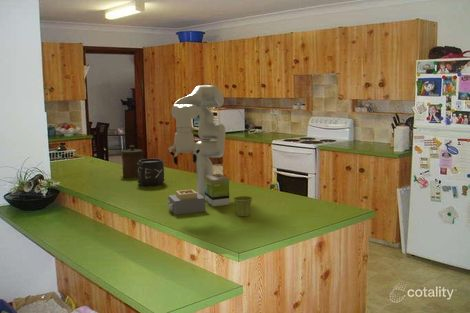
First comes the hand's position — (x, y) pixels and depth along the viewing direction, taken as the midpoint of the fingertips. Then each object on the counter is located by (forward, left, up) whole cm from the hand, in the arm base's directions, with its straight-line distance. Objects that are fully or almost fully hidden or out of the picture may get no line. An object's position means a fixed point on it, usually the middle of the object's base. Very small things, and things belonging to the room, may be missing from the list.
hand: (185, 163), depth 259 cm
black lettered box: (+5, -74, -25) cm, 78 cm away
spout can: (0, 0, -25) cm, 25 cm away
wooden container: (+11, -110, -25) cm, 113 cm away
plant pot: (-23, +22, -25) cm, 40 cm away
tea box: (-19, -8, -25) cm, 32 cm away
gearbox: (0, 0, -25) cm, 25 cm away
